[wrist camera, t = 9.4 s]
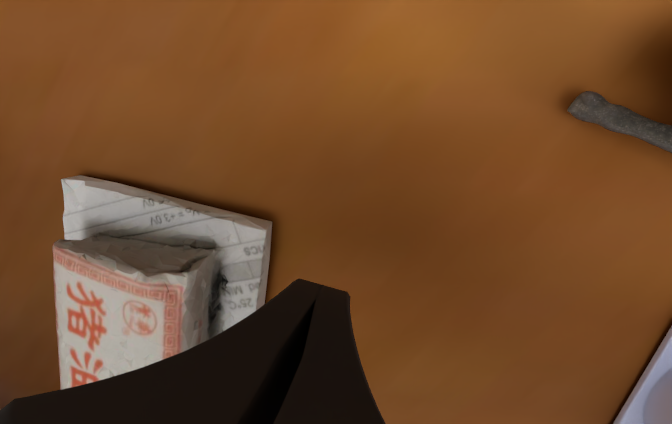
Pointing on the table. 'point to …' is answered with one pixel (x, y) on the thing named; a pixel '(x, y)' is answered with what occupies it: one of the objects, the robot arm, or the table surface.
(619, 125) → the dog figurine
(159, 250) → the packaged product
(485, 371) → the table surface
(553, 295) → the table surface
